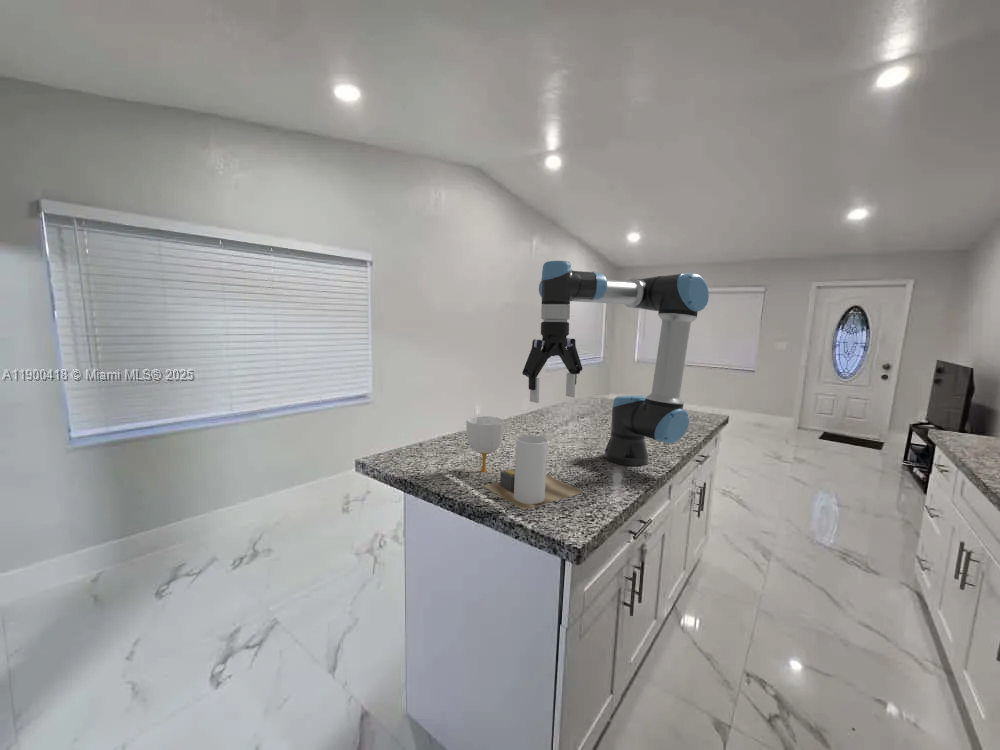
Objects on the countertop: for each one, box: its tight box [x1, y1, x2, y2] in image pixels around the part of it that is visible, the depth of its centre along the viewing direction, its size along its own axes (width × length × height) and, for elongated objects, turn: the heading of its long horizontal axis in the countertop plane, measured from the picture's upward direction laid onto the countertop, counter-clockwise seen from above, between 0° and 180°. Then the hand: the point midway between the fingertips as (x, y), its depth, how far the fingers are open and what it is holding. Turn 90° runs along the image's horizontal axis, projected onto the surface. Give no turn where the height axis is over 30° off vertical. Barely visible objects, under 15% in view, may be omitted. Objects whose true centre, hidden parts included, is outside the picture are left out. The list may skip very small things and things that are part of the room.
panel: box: [483, 474, 585, 511], centre depth 118 cm, size 22×18×1 cm
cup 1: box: [465, 415, 505, 473], centre depth 130 cm, size 12×12×17 cm
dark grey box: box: [499, 468, 515, 491], centre depth 119 cm, size 5×5×4 cm
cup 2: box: [514, 434, 549, 504], centre depth 111 cm, size 8×8×16 cm
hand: (552, 399), depth 116 cm, fingers open, 13 cm apart
